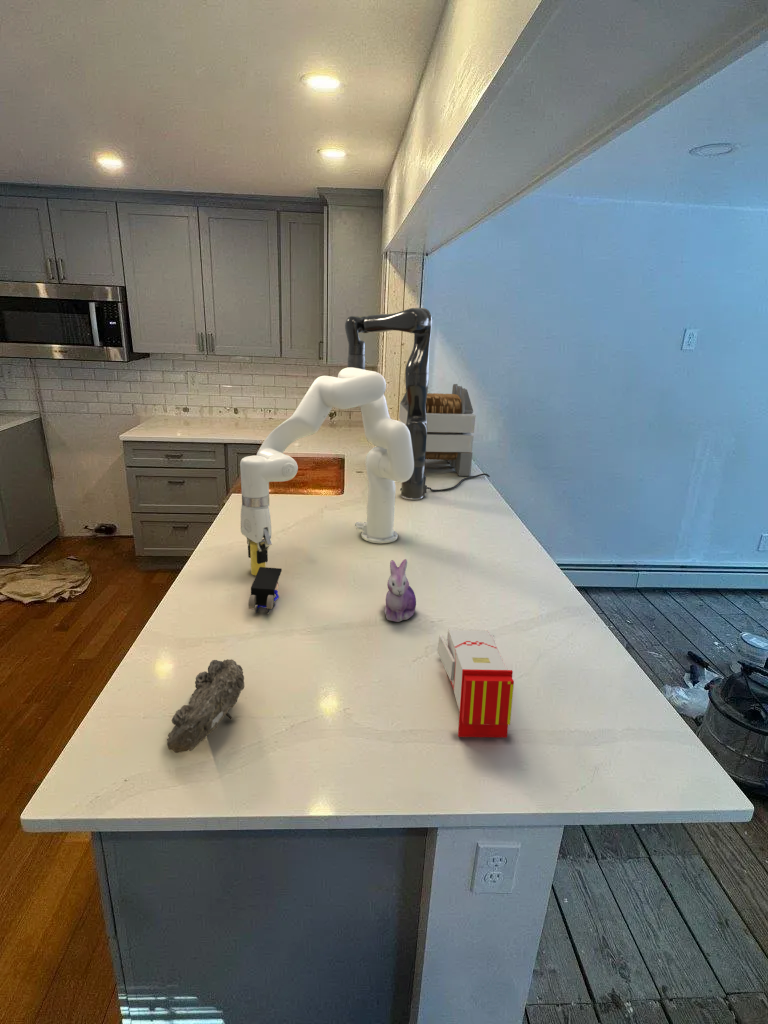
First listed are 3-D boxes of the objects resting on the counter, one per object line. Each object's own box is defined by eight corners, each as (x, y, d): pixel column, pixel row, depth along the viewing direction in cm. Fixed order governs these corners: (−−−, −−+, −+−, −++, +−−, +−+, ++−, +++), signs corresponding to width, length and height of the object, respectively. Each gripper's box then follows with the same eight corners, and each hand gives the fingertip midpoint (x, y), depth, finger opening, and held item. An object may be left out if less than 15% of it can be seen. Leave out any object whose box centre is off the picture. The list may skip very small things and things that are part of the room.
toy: (488, 613, 130) (523, 677, 101) (484, 667, 133) (517, 744, 104) (435, 612, 130) (455, 676, 101) (432, 666, 133) (451, 743, 103)
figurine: (392, 627, 141) (395, 572, 136) (374, 608, 149) (376, 556, 144) (425, 619, 145) (429, 566, 140) (405, 601, 154) (408, 550, 149)
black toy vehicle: (274, 622, 143) (283, 588, 157) (273, 597, 140) (282, 565, 153) (248, 621, 143) (258, 588, 157) (246, 596, 140) (257, 564, 153)
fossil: (192, 660, 117) (244, 628, 112) (224, 691, 120) (276, 661, 115) (142, 746, 98) (202, 712, 93) (182, 779, 101) (242, 748, 96)
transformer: (395, 457, 301) (399, 379, 287) (455, 458, 305) (462, 381, 291) (404, 475, 269) (409, 388, 255) (471, 476, 273) (479, 391, 259)
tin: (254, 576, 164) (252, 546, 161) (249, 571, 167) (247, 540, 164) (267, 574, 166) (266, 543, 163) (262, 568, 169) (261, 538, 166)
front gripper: (229, 494, 162) (232, 553, 169) (259, 511, 151) (261, 573, 157) (252, 490, 167) (254, 547, 173) (283, 505, 155) (284, 566, 162)
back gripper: (373, 366, 239) (371, 405, 245) (354, 363, 250) (353, 400, 255) (358, 367, 235) (357, 406, 240) (340, 363, 246) (339, 401, 251)
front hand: (258, 558), depth 165 cm, fingers closed on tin, 4 cm apart
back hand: (355, 403), depth 248 cm, fingers open, 8 cm apart
